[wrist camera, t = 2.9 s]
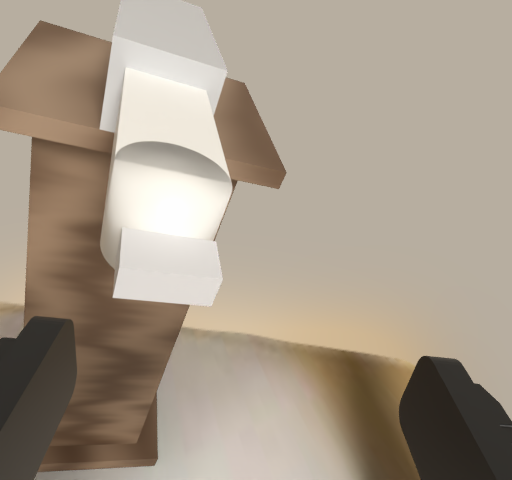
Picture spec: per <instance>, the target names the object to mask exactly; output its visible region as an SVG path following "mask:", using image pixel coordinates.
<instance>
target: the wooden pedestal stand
mask: <svg viewBox="0 0 512 480" xmlns="http://www.w3.org/2000/svg"><path fill="white" fill-rule="evenodd" d="M111 46H112V42H109V41H106V40H102V39H99V38H96V37H93V36H89V35H86V34H83V33H80V32H76V31H73V30H70V29H67V28H63V27H60V26H57V25H53V24H50V23H47V22H44V21H39V23H38V24H37V25H36V27H35V28H34V29H33V31H32V32H31V33H30V35H29V36H28V37H27V39H26V40H25V41H24V42H23V44H22V45H21V46H20V48H19V49H18V51H17V52H16V53H15V54H14V56H13V57H12V58H11V60H10V61H9V62H8V63H7V65H6V66H5V67H4V69H3V70H2V71H1V73H0V130H3V131H8V132H13V133H18V134H22V135H27V136H31V137H32V150H31V174H30V195H29V219H28V242H27V265H26V267H27V268H26V288H25V311H24V327H25V326H26V324H27V323H28V322H29V320H30V319H31V318H32V317H34V316H44V317H54V318H64V319H71V320H72V321H73V324H74V334H75V347H76V360H77V378H76V384H75V388H74V391H73V395H72V397H71V400H70V402H69V404H68V406H67V408H66V411H65V413H64V415H63V417H62V419H61V421H60V424H59V426H58V428H57V430H56V432H55V434H54V437H53V439H52V441H51V443H50V445H49V447H48V450H47V452H46V454H45V456H44V458H43V460H42V463H41V465H40V467H39V469H38V471H37V472H45V471H64V470H83V469H101V468H120V467H138V466H154V465H155V463H156V461H157V459H158V451H157V389H158V386H159V383H160V381H161V378H162V376H163V373H164V370H165V368H166V365H167V363H168V360H169V357H170V355H171V352H172V350H173V347H174V344H175V342H176V339H177V337H178V334H179V331H180V329H181V326H182V324H183V321H184V318H185V316H186V313H187V310H188V308H189V305H187V304H176V303H165V302H154V301H143V300H132V299H121V298H113V286H114V274H115V269H114V268H113V267H111V266H110V265H109V263H108V262H107V261H106V260H105V258H104V256H103V254H102V251H101V247H100V239H101V232H102V224H103V216H104V209H105V201H106V194H107V186H108V179H109V171H110V163H111V156H112V148H113V141H114V133H113V132H109V131H105V130H100V122H101V115H102V108H103V101H104V95H105V88H106V81H107V74H108V67H109V60H110V53H111ZM213 117H214V120H215V124H216V128H217V131H218V135H219V139H220V142H221V146H222V150H223V153H224V157H225V161H226V164H227V168H228V172H229V175H230V179H231V182H232V193H231V196H232V194H233V191H234V188H235V186H236V183H237V181H243V182H248V183H252V184H257V185H262V186H267V187H271V188H276V189H279V188H280V185H281V183H282V181H283V179H284V177H285V175H286V170H285V168H284V166H283V164H282V162H281V160H280V158H279V156H278V154H277V151H276V149H275V147H274V145H273V143H272V141H271V138H270V136H269V134H268V132H267V130H266V128H265V126H264V123H263V121H262V120H261V117H260V116H259V113H258V111H257V109H256V106H255V104H254V102H253V100H252V98H251V96H250V94H249V92H248V89H247V87H246V85H245V83H242V82H239V81H236V80H233V79H229V78H225V81H224V84H223V87H222V90H221V94H220V97H219V100H218V103H217V107H216V110H215V113H214V116H213ZM231 196H230V199H231ZM230 199H229V201H228V204H229V202H230ZM228 204H227V207H228ZM227 207H226V209H227ZM226 209H225V212H226ZM225 212H224V214H223V217H224V215H225ZM223 217H222V220H223ZM222 220H221V222H222ZM221 222H220V225H221ZM220 225H219V227H220ZM219 227H218V230H219ZM218 230H217V232H218ZM216 235H217V233H216ZM216 235H215V238H216ZM215 238H214V240H213V241H215Z"/></svg>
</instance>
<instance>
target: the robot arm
mask: <svg viewBox="0 0 512 480" xmlns="http://www.w3.org/2000/svg"><path fill="white" fill-rule="evenodd" d="M76 378H77V360H76V347H75V334H74V324H73V321H72V320H71V319H64V318H54V317H44V316H34V317H32V318H31V319H30V320H29V322H28V323H27V324H26V326H25V327H24V329H23V330H22V331H21V333H20V334H19V336H18V337H17V338H16V339H14V338H1V339H0V480H34V478H35V476H36V474H37V471H38V469H39V467H40V465H41V463H42V460H43V458H44V456H45V454H46V452H47V450H48V447H49V445H50V443H51V441H52V439H53V437H54V434H55V432H56V430H57V428H58V426H59V424H60V421H61V419H62V417H63V415H64V413H65V411H66V408H67V406H68V404H69V402H70V400H71V397H72V395H73V391H74V388H75V384H76ZM399 419H400V424H401V428H402V431H403V433H404V436H405V439H406V441H407V444H408V447H409V449H410V452H411V455H412V457H413V460H414V462H415V465H416V468H417V470H418V473H419V476H420V478H421V480H512V421H511V420H510V418H509V417H508V415H507V414H506V412H505V411H504V409H503V408H502V406H501V405H500V403H499V402H498V401H497V400H496V399H495V398H494V397H492V396H491V395H490V394H489V393H488V392H487V391H486V390H485V389H484V388H483V387H482V386H481V385H480V384H474V383H473V381H472V380H471V378H470V376H469V375H468V373H467V372H466V370H465V368H464V367H463V365H462V364H461V363H460V362H459V361H458V360H456V359H451V358H441V357H430V356H423V357H421V358H420V359H419V361H418V363H417V365H416V367H415V369H414V371H413V374H412V376H411V378H410V380H409V383H408V385H407V387H406V389H405V391H404V394H403V396H402V398H401V401H400V406H399Z"/></svg>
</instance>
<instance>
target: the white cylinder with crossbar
mask: <svg viewBox="0 0 512 480" xmlns="http://www.w3.org/2000/svg"><path fill="white" fill-rule="evenodd" d="M226 74H227V68H226V66H225V63H224V61H223V59H222V56H221V54H220V51H219V49H218V47H217V44H216V41H215V39H214V37H213V34H212V32H211V29H210V27H209V24H208V22H207V20H206V17H205V15H204V12H203V10H202V8H201V7H199V6H196V5H193V4H190V3H188V2H185V1H182V0H121V3H120V7H119V11H118V16H117V20H116V25H115V29H114V34H113V39H112V46H111V53H110V60H109V67H108V74H107V81H106V88H105V95H104V101H103V108H102V115H101V122H100V130H105V131H109V132H113V133H114V141H113V148H112V156H111V163H110V171H109V179H108V186H107V194H106V201H105V209H104V216H103V224H102V232H101V239H100V247H101V251H102V254H103V256H104V258H105V260H106V261H107V262H108V263H109V265H110V266H111V267H113V268H114V269H115V274H114V286H113V298H121V299H132V300H143V301H154V302H165V303H176V304H187V305H199V306H209V307H211V306H212V304H213V302H214V299H215V297H216V295H217V292H218V290H219V288H220V285H221V283H222V281H223V276H222V271H221V265H220V260H219V255H218V250H217V244H216V241H213V240H214V238H215V235H216V233H217V230H218V227H219V225H220V222H221V220H222V217H223V214H224V212H225V209H226V207H227V204H228V201H229V199H230V196H231V193H232V182H231V179H230V175H229V172H228V168H227V164H226V161H225V157H224V153H223V150H222V146H221V142H220V139H219V135H218V131H217V128H216V124H215V120H214V117H213V116H214V113H215V110H216V107H217V103H218V100H219V97H220V94H221V90H222V87H223V84H224V81H225V78H226Z"/></svg>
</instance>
